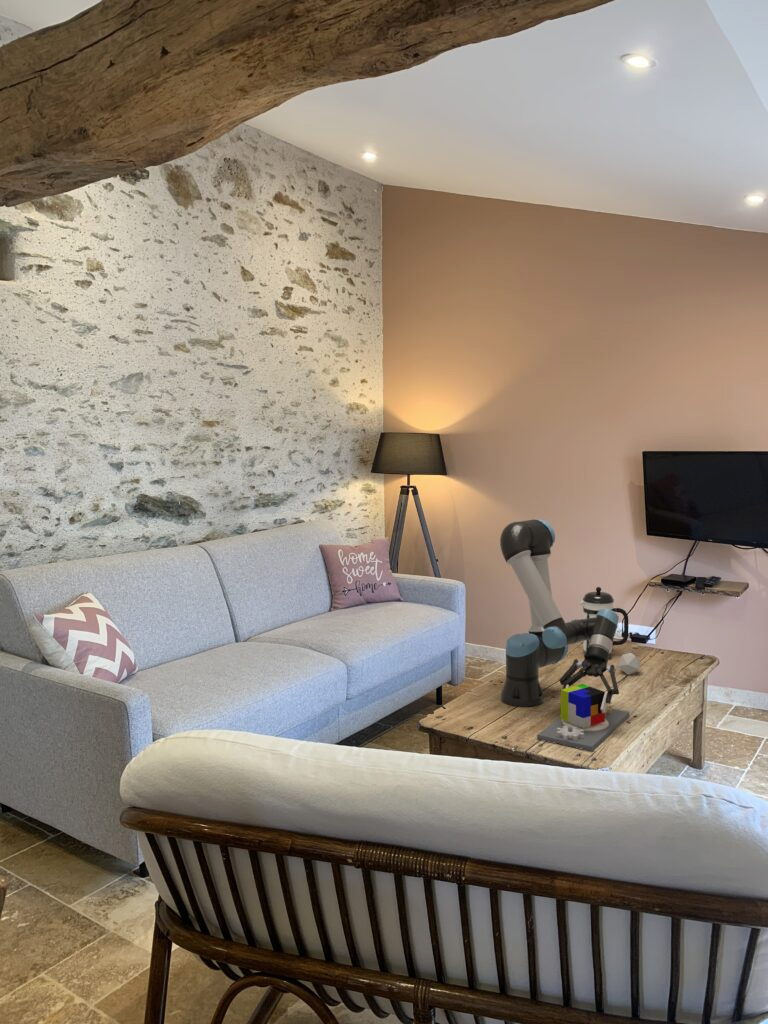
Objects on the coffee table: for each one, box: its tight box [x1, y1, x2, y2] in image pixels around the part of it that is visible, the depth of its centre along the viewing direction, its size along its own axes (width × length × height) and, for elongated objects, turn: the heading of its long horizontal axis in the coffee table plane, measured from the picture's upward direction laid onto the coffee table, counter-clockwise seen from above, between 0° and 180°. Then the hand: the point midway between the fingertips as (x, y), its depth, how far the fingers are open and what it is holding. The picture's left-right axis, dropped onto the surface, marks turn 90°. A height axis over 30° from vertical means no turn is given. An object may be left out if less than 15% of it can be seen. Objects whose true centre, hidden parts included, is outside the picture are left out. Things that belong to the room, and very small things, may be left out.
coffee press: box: [579, 586, 629, 660], centre depth 352 cm, size 17×16×30 cm
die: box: [617, 652, 642, 676], centre depth 327 cm, size 8×9×10 cm
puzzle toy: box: [560, 683, 605, 728], centre depth 268 cm, size 10×10×10 cm
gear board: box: [536, 705, 630, 752], centre depth 270 cm, size 36×18×4 cm, turn 146°
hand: (582, 707), depth 267 cm, fingers closed on puzzle toy, 12 cm apart
